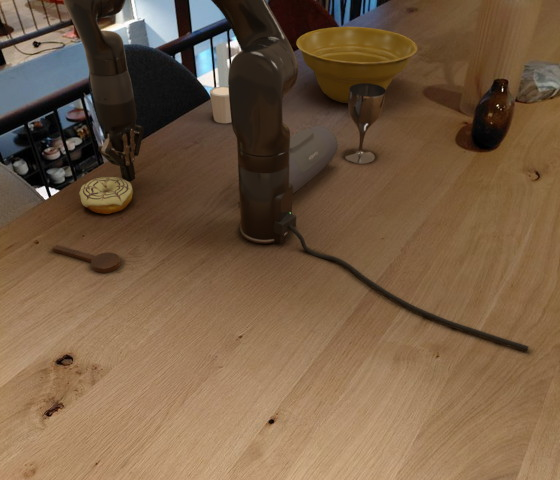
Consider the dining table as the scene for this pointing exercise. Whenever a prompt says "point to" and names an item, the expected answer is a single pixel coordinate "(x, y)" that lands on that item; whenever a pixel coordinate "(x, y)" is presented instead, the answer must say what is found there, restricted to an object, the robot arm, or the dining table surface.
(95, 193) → the decorated donut
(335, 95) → the planter bowl
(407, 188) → the dining table surface
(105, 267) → the spoon
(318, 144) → the bluetooth speaker
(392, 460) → the dining table surface
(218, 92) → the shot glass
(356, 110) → the wine glass
